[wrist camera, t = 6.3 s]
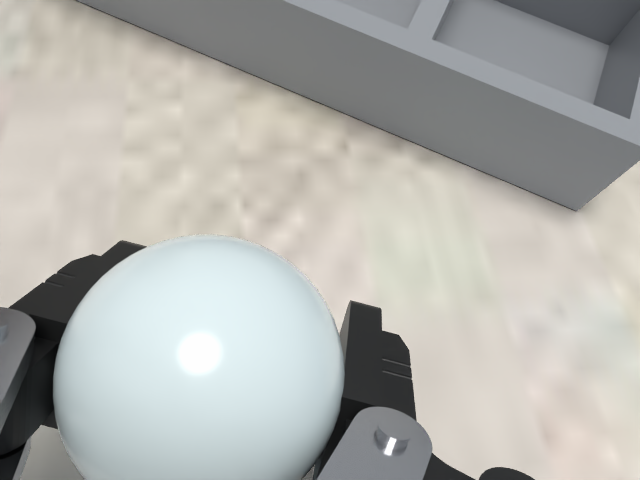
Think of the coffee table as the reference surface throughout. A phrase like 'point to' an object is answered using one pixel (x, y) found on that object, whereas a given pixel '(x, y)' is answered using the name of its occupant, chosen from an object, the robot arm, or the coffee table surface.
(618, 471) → the coffee table surface
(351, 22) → the tray
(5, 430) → the robot arm
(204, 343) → the pale blue dome-topped cylinder
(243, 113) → the coffee table surface
